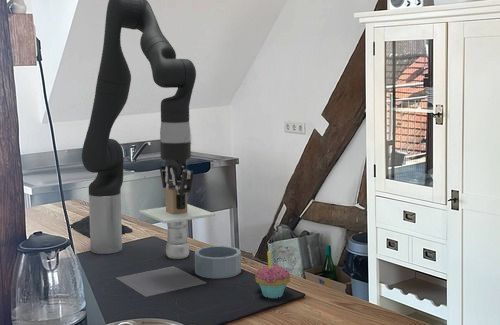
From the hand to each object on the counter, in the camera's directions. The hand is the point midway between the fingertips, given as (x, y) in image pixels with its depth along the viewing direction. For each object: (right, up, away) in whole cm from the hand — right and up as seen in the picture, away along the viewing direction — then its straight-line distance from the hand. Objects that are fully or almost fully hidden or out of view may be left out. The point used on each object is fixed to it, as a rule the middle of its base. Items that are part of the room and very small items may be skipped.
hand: (176, 207), depth 165 cm
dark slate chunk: (-32, -12, +55) cm, 65 cm away
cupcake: (+24, -21, -7) cm, 33 cm away
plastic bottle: (-2, -16, +22) cm, 27 cm away
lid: (0, -2, 0) cm, 2 cm away
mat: (-4, -19, +1) cm, 20 cm away
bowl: (+10, -18, +8) cm, 23 cm away
